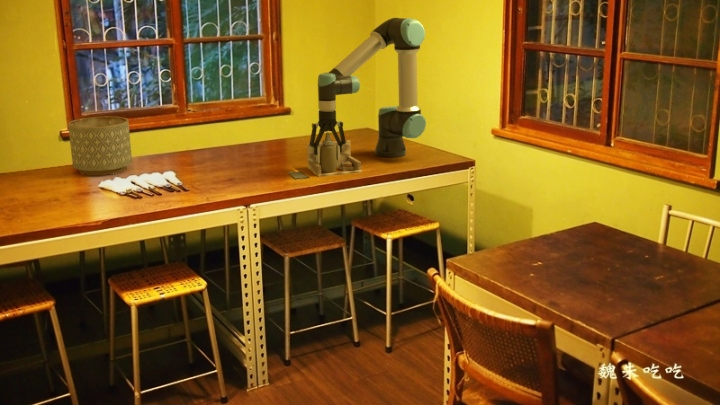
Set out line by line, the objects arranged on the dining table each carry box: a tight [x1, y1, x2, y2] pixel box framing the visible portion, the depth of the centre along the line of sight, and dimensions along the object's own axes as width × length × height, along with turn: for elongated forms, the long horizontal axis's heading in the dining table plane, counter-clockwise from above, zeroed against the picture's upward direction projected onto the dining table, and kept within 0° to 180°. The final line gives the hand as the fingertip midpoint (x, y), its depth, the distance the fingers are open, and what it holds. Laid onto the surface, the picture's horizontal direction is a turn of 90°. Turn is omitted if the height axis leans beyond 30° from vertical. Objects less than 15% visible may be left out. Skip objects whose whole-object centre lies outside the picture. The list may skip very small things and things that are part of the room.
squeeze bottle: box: [319, 131, 337, 174], centre depth 348 cm, size 8×8×18 cm
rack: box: [306, 139, 363, 178], centre depth 350 cm, size 20×16×12 cm
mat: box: [287, 170, 311, 180], centre depth 346 cm, size 10×11×1 cm
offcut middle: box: [338, 165, 355, 172], centre depth 353 cm, size 5×6×2 cm
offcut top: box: [341, 161, 352, 168], centre depth 353 cm, size 4×5×2 cm
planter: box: [67, 116, 133, 176], centre depth 354 cm, size 26×26×22 cm
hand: (328, 160), depth 349 cm, fingers open, 9 cm apart
